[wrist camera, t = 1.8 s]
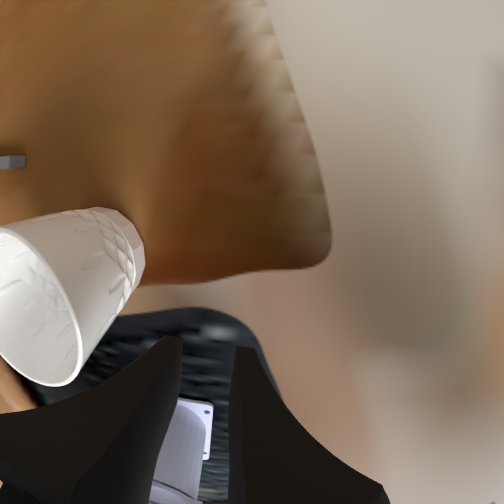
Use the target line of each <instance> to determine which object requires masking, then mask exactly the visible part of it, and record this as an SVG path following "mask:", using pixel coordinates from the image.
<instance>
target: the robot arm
mask: <svg viewBox="0 0 504 504" xmlns="http://www.w3.org/2000/svg"><path fill="white" fill-rule="evenodd" d="M182 339H183V338H178V337H172V336H166V335H165V336H164V337H163V338H161V339H160V340H159V341H158V342H157V343H156V344H154V345H153V346H152V347H151V348H150V349H148V350H147V351H146V352H145V353H144V354H142V355H141V356H140V357H138V358H137V359H136V360H135V361H133V362H132V363H131V364H129V365H128V366H127V367H125V368H124V369H122V370H121V371H119V372H118V373H116V374H115V375H113V376H112V377H110V378H109V379H107V380H105V381H104V382H102V383H100V384H99V385H97V386H95V387H93V388H91V389H89V390H87V391H85V392H82V393H80V394H77V395H75V396H72V397H70V398H67V399H65V400H62V401H60V402H57V403H53V404H50V405H47V406H43V407H39V408H35V409H30V410H25V411H19V412H12V413H4V414H0V480H1V481H2V482H3V484H2V486H1V488H0V504H202V503H203V502H201V501H198V500H197V496H198V489H199V482H200V474H201V467H202V460H207V459H209V452H210V440H211V428H212V416H213V405H212V404H211V403H209V402H203V401H197V400H191V399H185V398H179V392H180V388H181V383H182ZM206 410H207V411H206ZM228 432H229V461H230V466H229V486H228V499H227V504H390V501H389V498H388V496H387V494H386V492H385V491H384V488H383V486H382V485H381V484H379V483H377V482H376V481H374V480H372V479H370V478H368V477H366V476H365V475H363V474H361V473H359V472H357V471H356V470H354V469H353V468H351V467H350V466H348V465H347V464H345V463H344V462H342V461H341V460H339V459H338V458H337V457H335V456H334V455H333V454H332V453H331V452H329V451H328V450H327V449H326V448H325V447H323V446H322V445H321V444H320V443H319V442H317V440H315V439H314V438H313V437H312V436H311V435H310V434H309V433H308V432H307V430H306V429H305V428H304V427H303V426H302V425H301V424H300V423H299V422H298V421H297V419H296V418H295V417H294V416H293V414H292V413H291V412H290V411H289V409H288V408H287V407H286V405H285V404H284V402H283V401H282V399H281V398H280V396H279V395H278V393H277V392H276V390H275V388H274V387H273V385H272V383H271V382H270V380H269V378H268V376H267V374H266V372H265V370H264V368H263V366H262V364H261V362H260V359H259V357H258V354H257V351H256V350H255V349H254V348H248V347H240V346H236V351H235V358H234V365H233V373H232V380H231V387H230V397H229V407H228ZM490 504H495V502H492V503H490Z"/></svg>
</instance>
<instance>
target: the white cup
mask: <svg viewBox="0 0 504 504" xmlns="http://www.w3.org/2000/svg"><path fill="white" fill-rule="evenodd" d="M144 268H145V255H144V245H143V241H142V240H141V238H140V236H139V234H138V232H137V230H136V228H135V227H134V225H133V223H132V222H131V221H129V220H128V219H127V218H126V217H124V216H123V215H122V214H121V213H119V212H118V211H117V210H113V209H108V208H103V207H93V208H88V209H83V210H69V211H64V212H58V213H51V214H47V215H42V216H38V217H33V218H29V219H25V220H21V221H17V222H13V223H8V224H4V225H0V355H1V356H2V357H3V358H4V359H5V360H6V361H7V362H8V363H9V364H10V365H11V366H12V367H13V368H14V369H15V370H17V371H18V372H19V373H21V374H22V375H24V376H25V377H27V378H28V379H30V380H32V381H34V382H37V383H39V384H42V385H46V386H53V387H57V386H63V385H66V384H68V383H70V382H71V381H73V380H74V379H75V378H76V376H77V375H78V373H79V372H80V370H81V368H82V367H83V365H84V364H85V362H86V361H87V359H88V358H89V356H90V355H91V353H92V352H93V350H94V349H95V347H96V346H97V344H98V343H99V341H100V340H101V339H102V337H103V336H104V334H105V333H106V331H107V330H108V329H109V327H110V326H111V324H112V323H113V322H114V320H115V318H116V317H117V315H118V313H119V312H120V311H121V309H122V308H123V307H124V305H125V303H126V301H127V300H128V298H129V296H130V294H131V293H132V292H133V291H134V289H135V288H136V287H137V286H138V284H139V283H140V280H141V276H142V273H143V271H144Z"/></svg>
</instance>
